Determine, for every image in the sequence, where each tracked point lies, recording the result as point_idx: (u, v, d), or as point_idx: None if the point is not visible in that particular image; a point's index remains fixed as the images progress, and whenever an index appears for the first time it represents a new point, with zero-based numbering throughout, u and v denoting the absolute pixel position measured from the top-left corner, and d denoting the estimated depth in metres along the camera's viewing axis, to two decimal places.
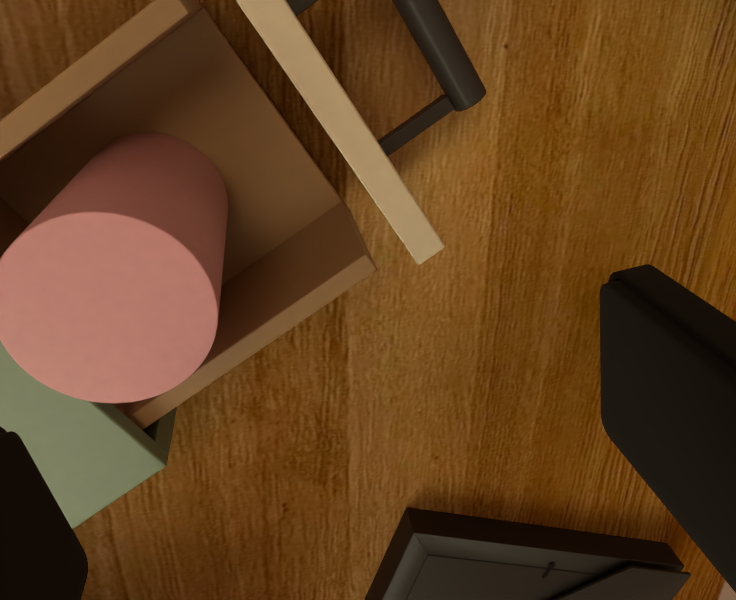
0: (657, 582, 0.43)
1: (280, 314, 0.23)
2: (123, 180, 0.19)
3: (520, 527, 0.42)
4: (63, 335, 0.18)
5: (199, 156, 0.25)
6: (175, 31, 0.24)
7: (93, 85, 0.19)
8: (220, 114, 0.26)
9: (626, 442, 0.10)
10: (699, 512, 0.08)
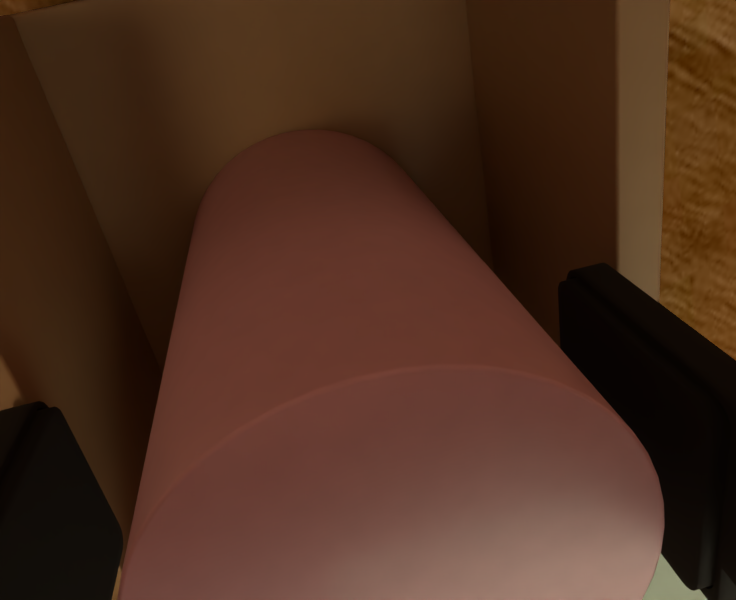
0: None
1: (619, 169, 0.09)
2: (171, 358, 0.08)
3: None
4: None
5: (260, 150, 0.14)
6: (43, 84, 0.13)
7: None
8: (208, 77, 0.14)
9: None
10: None
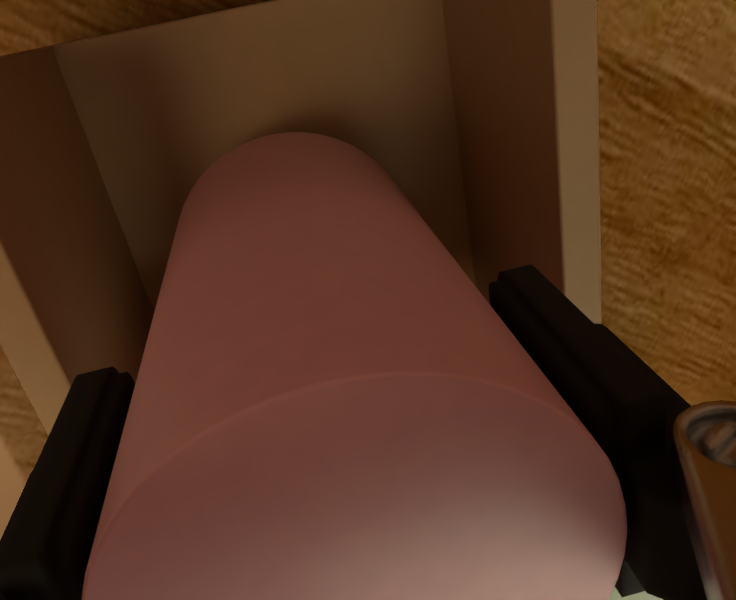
0: None
1: (561, 185, 0.11)
2: (145, 361, 0.09)
3: None
4: None
5: (242, 152, 0.14)
6: (76, 105, 0.15)
7: (25, 294, 0.11)
8: (219, 100, 0.16)
9: None
10: None
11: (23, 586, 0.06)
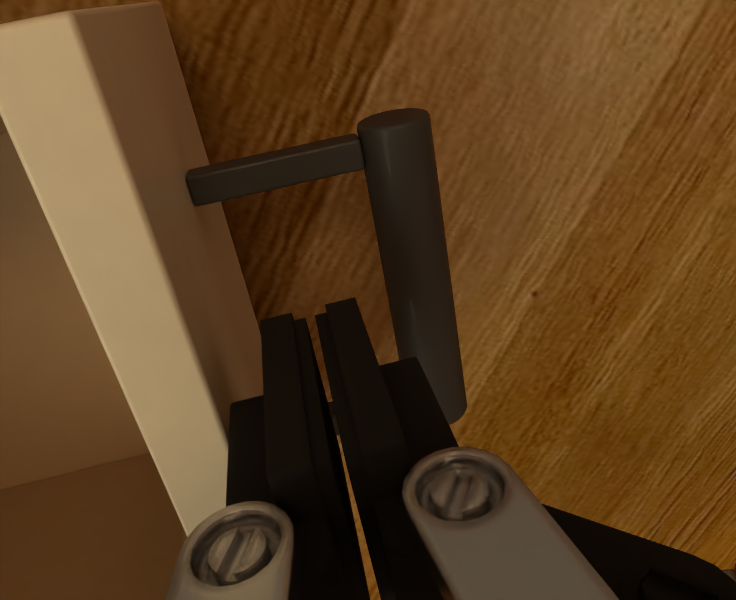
0: None
1: None
2: None
3: None
4: None
5: None
6: None
7: None
8: (34, 266, 0.15)
9: None
10: None
11: (294, 491, 0.07)
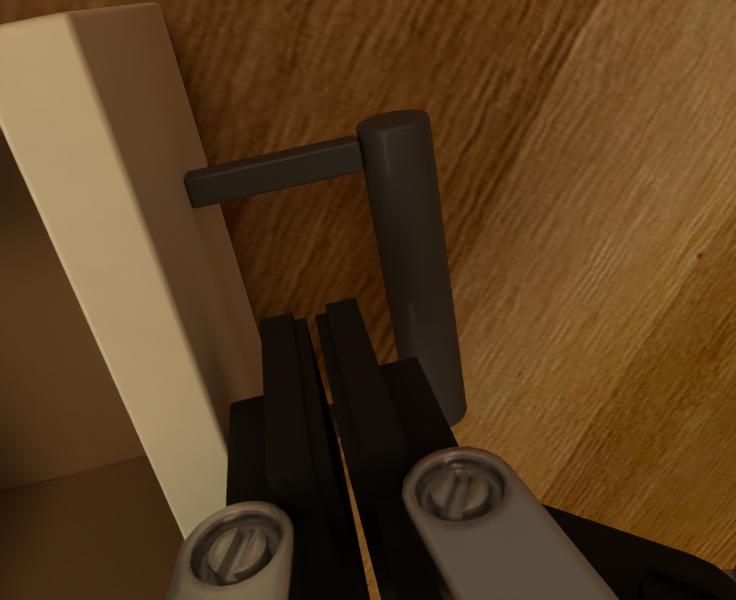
0: None
1: None
2: None
3: None
4: None
5: None
6: None
7: None
8: (32, 268, 0.15)
9: None
10: None
11: (294, 491, 0.07)
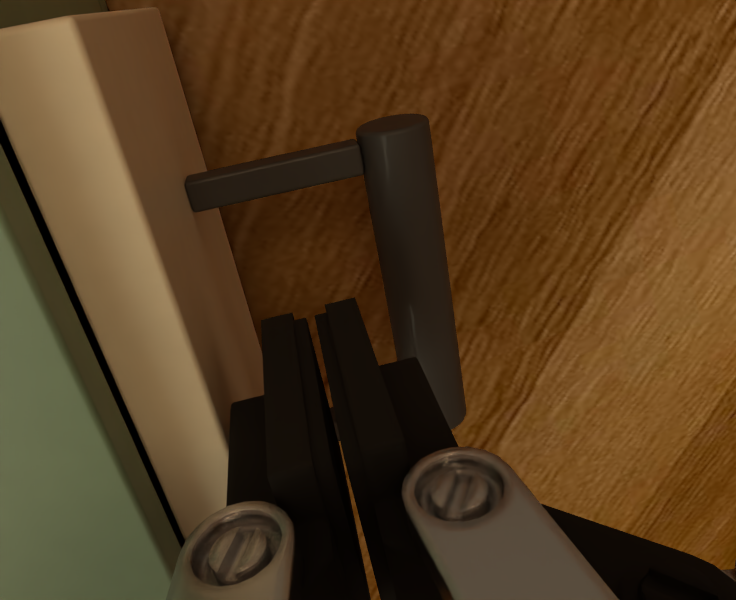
0: None
1: None
2: None
3: None
4: None
5: None
6: None
7: None
8: None
9: None
10: None
11: (295, 491, 0.07)
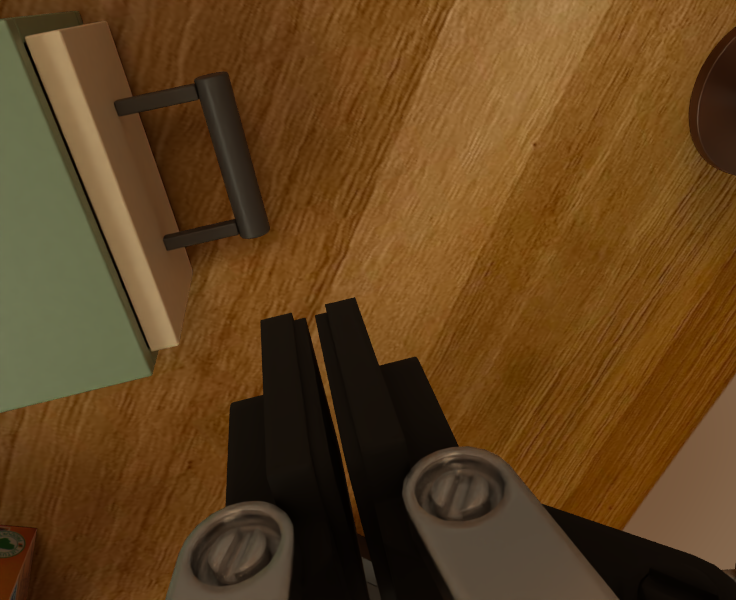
0: None
1: None
2: None
3: None
4: None
5: None
6: None
7: None
8: None
9: None
10: None
11: (294, 491, 0.07)
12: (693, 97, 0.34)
